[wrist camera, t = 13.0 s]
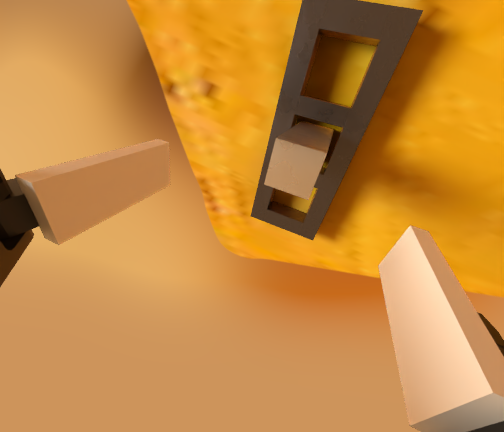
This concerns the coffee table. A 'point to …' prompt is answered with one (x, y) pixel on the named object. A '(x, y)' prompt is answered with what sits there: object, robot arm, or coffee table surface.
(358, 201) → the coffee table surface
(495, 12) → the coffee table surface
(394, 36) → the dark grey ladder frame
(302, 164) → the beige tall block
